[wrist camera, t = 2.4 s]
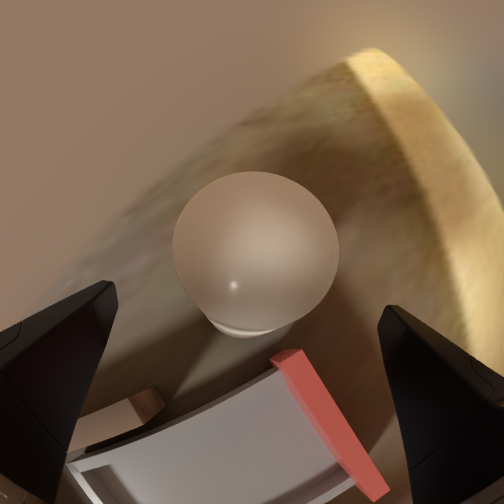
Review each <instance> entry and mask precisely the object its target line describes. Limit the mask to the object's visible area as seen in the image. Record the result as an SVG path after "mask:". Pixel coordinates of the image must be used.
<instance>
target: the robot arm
mask: <svg viewBox="0 0 504 504" xmlns="http://www.w3.org/2000/svg"><path fill="white" fill-rule="evenodd" d="M117 310H118V299H117V293H116V288H115V284H114V283H113V282H112V281H106V280H102V281H99V282H97V283H95V284H93V285H91V286H89V287H87V288H85V289H83V290H81V291H79V292H77V293H75V294H73V295H71V296H69V297H67V298H65V299H63V300H61V301H59V302H57V303H55V304H53V305H51V306H49V307H47V308H45V309H43V310H41V311H40V312H38V313H36V314H34V315H32V316H30V317H28V318H26V319H24V320H23V321H20V322H19V323H17V324H15V325H13V326H11V327H9V328H7V329H5V330H3V331H1V332H0V504H26V503H25V501H24V499H25V495H26V492H28V493H30V494H32V495H33V496H35V497H37V498H39V499H40V500H42V501H44V502H46V503H48V504H54V503H55V499H56V495H57V490H58V486H59V482H60V478H61V474H62V470H63V467H64V463H65V459H66V456H67V453H66V452H68V448H69V445H70V442H71V439H72V435H73V432H74V429H75V426H76V423H77V420H78V417H79V414H80V411H81V409H82V406H83V403H84V400H85V397H86V395H87V392H88V389H89V387H90V384H91V382H92V379H93V377H94V374H95V371H96V369H97V367H98V364H99V362H100V359H101V357H102V354H103V352H104V350H105V347H106V344H107V341H108V338H109V335H110V331H111V328H112V325H113V322H114V319H115V316H116V313H117ZM377 330H378V336H379V341H380V346H381V351H382V357H383V362H384V367H385V371H386V375H387V378H388V382H389V386H390V389H391V393H392V397H393V401H394V405H395V409H396V413H397V417H398V422H399V426H400V431H401V435H402V440H403V445H404V450H405V455H406V461H407V466H408V471H409V479H410V485H411V492H412V500H413V504H504V377H503V376H501V375H499V374H498V373H496V372H495V371H493V370H492V369H490V368H488V367H487V366H486V365H484V364H483V363H481V362H480V361H478V360H477V359H475V358H474V357H473V356H471V355H469V354H468V353H467V352H466V351H464V350H463V349H461V348H460V347H458V346H457V345H456V344H454V343H453V342H451V341H450V340H448V339H447V338H445V337H444V336H443V335H441V334H440V333H438V332H437V331H435V330H434V329H432V328H431V327H429V326H428V325H426V324H425V323H423V322H422V321H421V320H419V319H418V318H416V317H415V316H413V315H412V314H410V313H409V312H407V311H406V310H404V309H403V308H401V307H399V306H398V305H387V306H386V307H385V308H384V311H383V313H382V316H381V318H380V320H379V323H378V327H377Z"/></svg>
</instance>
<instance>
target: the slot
mask: <svg viewBox="0 0 504 504" xmlns="http://www.w3.org/2000/svg"><path fill="white" fill-rule="evenodd" d="M165 406H166V404H165V403H164V401H163V399H162V398H161V396H160V394H159V393H158V391H157V389H156V388H155V386H153V387H150V388H148V389H146V390H144V391H142V392H139V393H137V394H135V395H133V396H130V397H128V398H126V399H124V400H121V401H119V402H117V403H115V404H112V405H110V406H108V407H105V408H103V409H101V410H99V411H96V412H94V413H91V414H89V415H87V416H84V417H82V418H79V419H78V420H77V423H76V426H75V429H74V432H73V435H72V439H71V442H70V445H69V448H68V452H71V451H74V450H77V449H80V448H83V447H86V446H89V445H92V444H95V443H98V442H101V441H103V440H106V439H109V438H112V437H114V436H117V435H119V434H122V433H125V432H127V431H130V430H132V429H135V428H137V427H139V426H142V425H144V424H145V423H146V422H147V421H149V420H150V419H151V418H152V417H154V416H155V415H156V414H157V413H158V412H160V411H161V410H162V409H163V408H164V407H165ZM68 452H66V453H68ZM24 501H25V503H26V504H44V503H43V501H42V500H40V499H39V498H37V497H35V496H33V495H32V494H30V493H28V492H26V495H25V499H24Z"/></svg>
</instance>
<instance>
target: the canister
mask: <svg viewBox="0 0 504 504" xmlns="http://www.w3.org/2000/svg"><path fill="white" fill-rule="evenodd" d="M172 254H173V262H174V266H175V270H176V273H177V276H178V278H179V280H180V283H181V284H182V286H183V288H184V289H185V291H186V293H187V294H188V295H189V296H190V298H191V299H192V300H193V301H194V303H195V304H196V305H197V306H198V307H199V309H200V310H201V311H202V312H203V313H204V314H205V316H206V317H207V318H208V319H209V320H210V321H211V323H212V324H213V325H214V326H215V327H216V328H217V329H218V330H219V331H221V332H222V333H224V334H226V335H228V336H231V337H234V338H239V339H250V338H255V337H258V336H261V335H263V334H266V333H268V332H271V331H273V330H275V329H278V328H280V327H283V326H285V325H287V324H290V323H292V322H294V321H296V320H298V319H300V318H301V317H303V316H305V315H306V314H307V313H309V312H310V311H311V310H313V309H314V308H315V307H316V306H317V305H318V304H319V303H320V302H321V301H322V299H323V298H324V297H325V295H326V294H327V292H328V291H329V289H330V287H331V285H332V283H333V281H334V278H335V275H336V272H337V267H338V261H339V243H338V238H337V233H336V230H335V227H334V224H333V222H332V220H331V218H330V216H329V214H328V212H327V211H326V209H325V208H324V206H323V205H322V204H321V203H320V201H319V200H318V199H317V198H316V197H315V196H314V195H313V194H312V193H311V192H309V191H308V190H307V189H305V188H304V187H303V186H301V185H299V184H298V183H296V182H294V181H292V180H290V179H288V178H286V177H283V176H280V175H276V174H272V173H267V172H256V171H255V172H241V173H235V174H231V175H227V176H224V177H222V178H219V179H217V180H215V181H213V182H211V183H209V184H208V185H206V186H205V187H204V188H202V189H201V190H200V191H199V192H197V193H196V194H195V195H194V196H193V197H192V198H191V200H190V201H189V202H188V203H187V204H186V206H185V208H184V209H183V211H182V212H181V214H180V217H179V219H178V221H177V224H176V227H175V230H174V235H173V242H172Z"/></svg>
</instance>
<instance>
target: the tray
mask: <svg viewBox="0 0 504 504" xmlns="http://www.w3.org/2000/svg"><path fill="white" fill-rule="evenodd" d="M269 361H270V362H271V364H272V366H273V368H271V369H269V370H268V371H266V372H264V373H262V374H261V375H259V376H257V377H256V378H254V379H252V380H250V381H249V382H247V383H245V384H243V385H241V386H240V387H238V388H236V389H234V390H232V391H230V392H229V393H227V394H225V395H223V396H221V397H219V398H217V399H215V400H213V401H211V402H209V403H207V404H205V405H203V406H201V407H199V408H197V409H195V410H193V411H191V412H189V413H187V414H185V415H183V416H180V417H178V418H176V419H174V420H172V421H169V422H167V423H165V424H163V425H160V426H158V427H156V428H153V429H151V430H149V431H146V432H144V433H141V434H139V435H136V436H134V437H131V438H129V439H126V440H123V441H121V442H118V443H115V444H113V445H110V446H107V447H104V448H101V449H98V450H95V451H92V452H89V453H86V454H83V455H80V456H79V457H77V458H75V459H74V460H72V461H70V462H69V463H67V464H66V465H67V467H68V468H69V470H70V471H71V473H72V474H73V476H74V477H75V479H76V480H77V482H78V483H79V485H80V486H81V487H82V489H83V490H84V492H85V493H86V494H87V496H88V497H89V498H90V499H91V501H92V502H93V503H94V504H324V503H326V502H328V501H330V500H331V499H333V498H335V497H336V496H338V495H339V494H341V493H343V492H344V491H346V490H347V489H349V488H350V487H352V486H353V485H356V486H357V487H358V488H359V489H360V490H361V491H362V492H363V493H364V494H365V495H366V496H367V497H368V498H369V499H370V500H372V501H373V502H375V501H376V500H378V499H379V498H380V497H382V496H383V495H384V494H386V493H387V492H388V491H390V488H389V487H388V485H387V484H386V482H385V481H384V479H383V477H382V476H381V474H380V473H379V471H378V470H377V468H376V467H375V465H374V463H373V462H372V460H371V459H370V457H369V456H368V454H367V452H366V451H365V449H364V448H363V446H362V445H361V443H360V441H359V440H358V438H357V437H356V435H355V433H354V432H353V430H352V429H351V427H350V426H349V424H348V422H347V421H346V419H345V418H344V416H343V414H342V413H341V411H340V410H339V408H338V406H337V405H336V403H335V402H334V400H333V398H332V397H331V395H330V394H329V392H328V390H327V389H326V387H325V386H324V384H323V382H322V381H321V379H320V378H319V376H318V374H317V373H316V371H315V370H314V368H313V366H312V365H311V363H310V362H309V360H308V358H307V357H306V355H305V354H304V352H303V350H302V349H284V350H283V351H281V352H279V353H278V354H276V355H274V356H273V357H271V358H269Z"/></svg>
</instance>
